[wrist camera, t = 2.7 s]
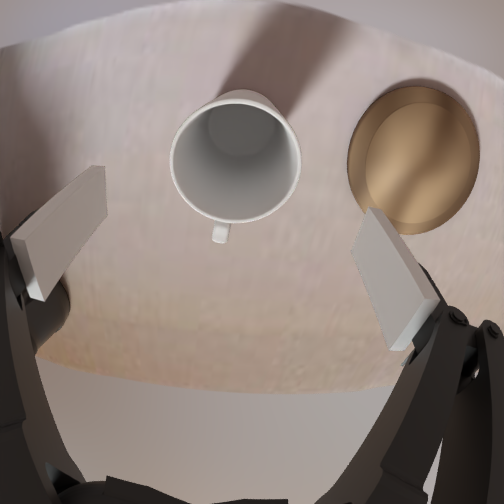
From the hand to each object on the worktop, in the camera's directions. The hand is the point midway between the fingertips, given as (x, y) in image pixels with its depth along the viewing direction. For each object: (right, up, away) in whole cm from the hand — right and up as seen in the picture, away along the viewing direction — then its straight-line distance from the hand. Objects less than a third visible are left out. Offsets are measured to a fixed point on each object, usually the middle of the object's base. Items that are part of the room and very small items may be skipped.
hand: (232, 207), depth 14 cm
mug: (0, +8, +11) cm, 14 cm away
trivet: (+18, +7, +12) cm, 22 cm away
